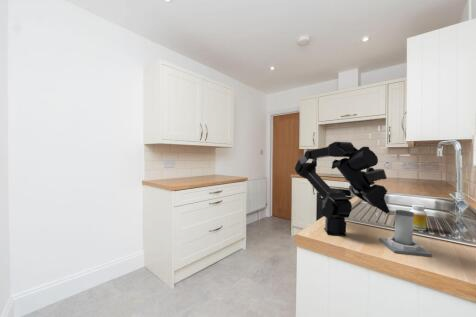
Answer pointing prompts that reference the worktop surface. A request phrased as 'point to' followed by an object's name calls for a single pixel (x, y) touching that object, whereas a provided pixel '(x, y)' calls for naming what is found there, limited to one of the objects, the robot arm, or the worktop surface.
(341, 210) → the robot arm
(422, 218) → the supplement bottle
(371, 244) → the worktop surface
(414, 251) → the ring socket board
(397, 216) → the canister
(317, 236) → the worktop surface
